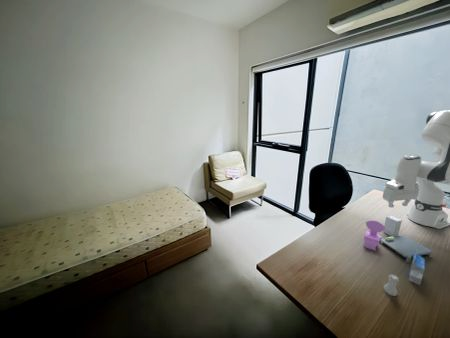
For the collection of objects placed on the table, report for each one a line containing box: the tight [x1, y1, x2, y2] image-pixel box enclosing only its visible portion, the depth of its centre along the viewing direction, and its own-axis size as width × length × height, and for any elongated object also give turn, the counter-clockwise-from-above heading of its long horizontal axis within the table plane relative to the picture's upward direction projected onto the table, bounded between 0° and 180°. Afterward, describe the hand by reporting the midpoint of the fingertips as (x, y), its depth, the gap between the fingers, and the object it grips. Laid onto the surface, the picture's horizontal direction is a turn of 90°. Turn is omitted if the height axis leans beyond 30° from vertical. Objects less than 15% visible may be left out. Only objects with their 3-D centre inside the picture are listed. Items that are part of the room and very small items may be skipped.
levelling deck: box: [380, 234, 434, 258], centre depth 100 cm, size 16×14×3 cm
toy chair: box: [363, 220, 385, 252], centre depth 102 cm, size 8×9×15 cm
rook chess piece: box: [383, 273, 400, 297], centre depth 77 cm, size 4×4×8 cm
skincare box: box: [382, 215, 403, 237], centre depth 112 cm, size 6×4×12 cm
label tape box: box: [408, 250, 426, 286], centre depth 83 cm, size 9×4×12 cm, turn 133°
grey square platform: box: [379, 236, 433, 264], centre depth 101 cm, size 17×16×4 cm
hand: (397, 206), depth 108 cm, fingers open, 8 cm apart
